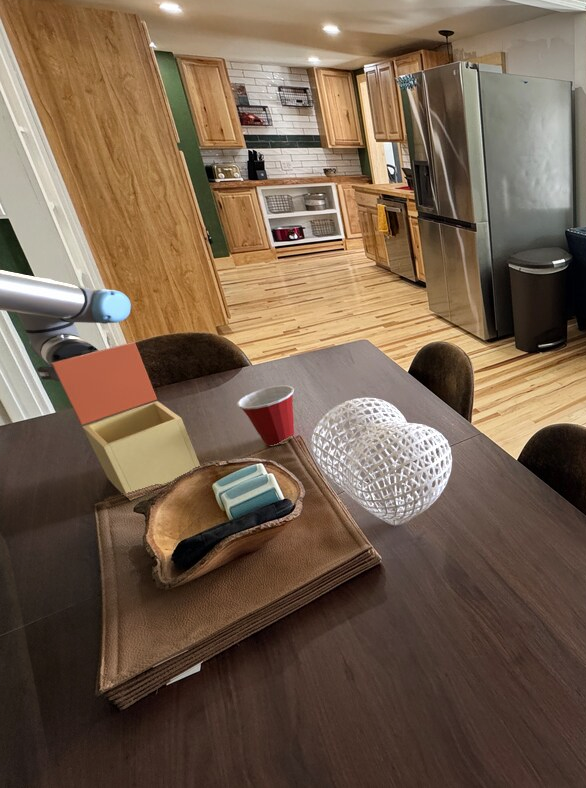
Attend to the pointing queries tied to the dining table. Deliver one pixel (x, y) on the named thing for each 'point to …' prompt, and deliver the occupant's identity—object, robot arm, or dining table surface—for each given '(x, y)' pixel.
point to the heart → (382, 459)
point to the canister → (142, 447)
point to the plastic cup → (270, 412)
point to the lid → (105, 382)
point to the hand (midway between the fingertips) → (107, 381)
